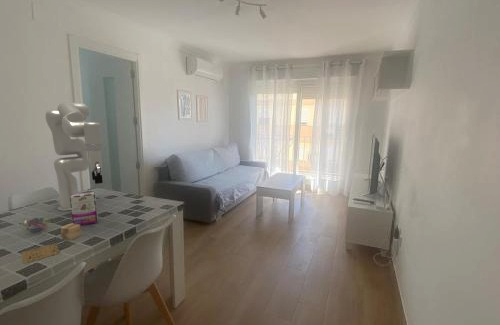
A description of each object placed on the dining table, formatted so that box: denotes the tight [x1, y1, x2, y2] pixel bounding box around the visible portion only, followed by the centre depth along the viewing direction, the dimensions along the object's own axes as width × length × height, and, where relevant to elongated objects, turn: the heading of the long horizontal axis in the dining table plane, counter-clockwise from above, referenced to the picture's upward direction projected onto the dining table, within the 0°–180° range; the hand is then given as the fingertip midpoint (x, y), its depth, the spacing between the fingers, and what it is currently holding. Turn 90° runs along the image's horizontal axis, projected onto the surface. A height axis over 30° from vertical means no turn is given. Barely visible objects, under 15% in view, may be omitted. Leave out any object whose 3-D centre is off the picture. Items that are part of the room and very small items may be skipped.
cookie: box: [20, 242, 61, 265], centre depth 107 cm, size 12×12×1 cm
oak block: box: [60, 222, 82, 241], centre depth 122 cm, size 6×6×6 cm
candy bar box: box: [70, 191, 99, 226], centre depth 136 cm, size 11×5×16 cm, turn 117°
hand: (97, 181), depth 129 cm, fingers open, 9 cm apart
